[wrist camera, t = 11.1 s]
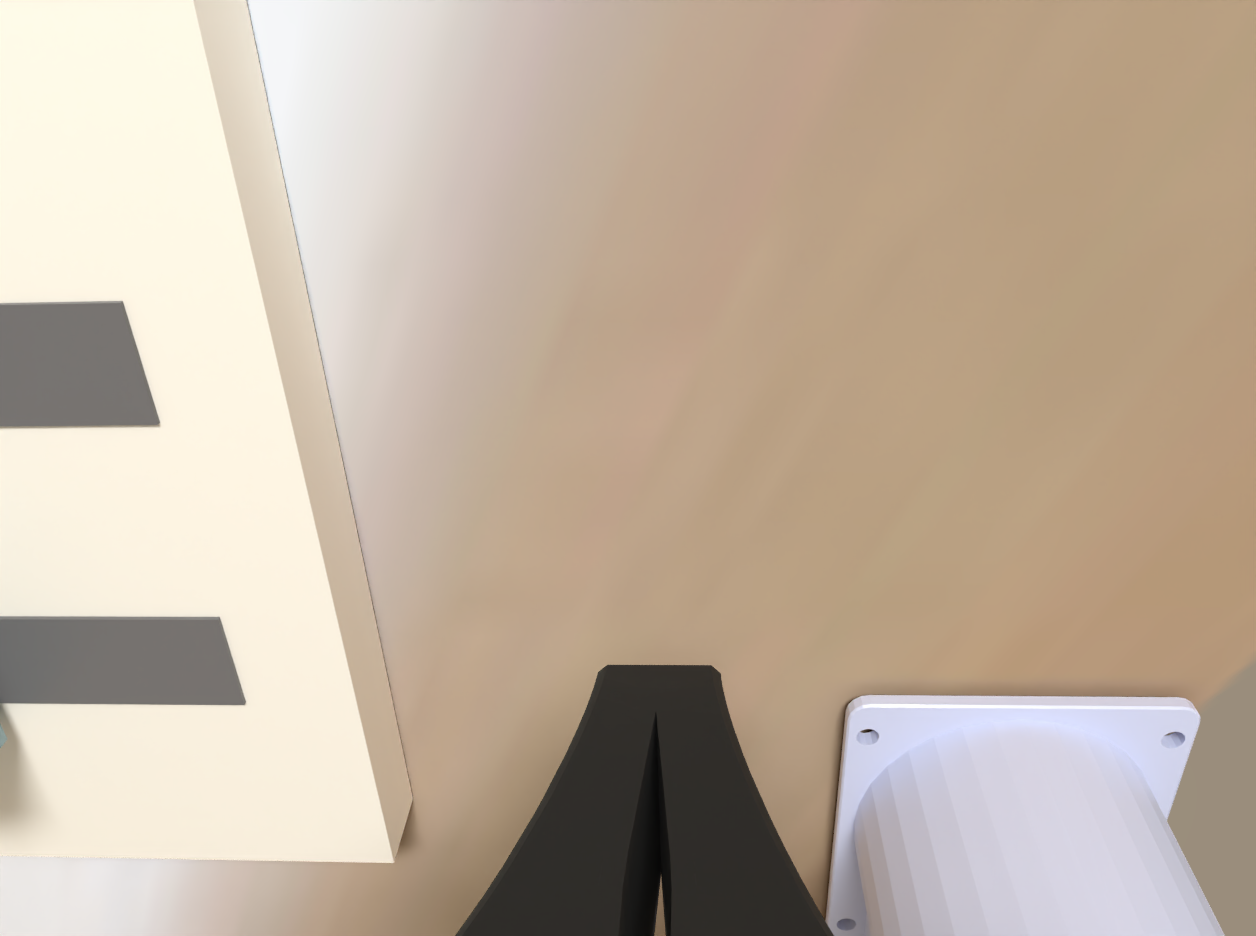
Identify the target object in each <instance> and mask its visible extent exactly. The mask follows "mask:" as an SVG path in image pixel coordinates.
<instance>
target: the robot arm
mask: <svg viewBox="0 0 1256 936" xmlns="http://www.w3.org/2000/svg"><path fill="white" fill-rule="evenodd" d="M1199 724H1200V715H1199V714H1198V712H1197V710H1196V709H1195V707H1194V705H1193V704H1192V702H1190V701H1189V700H1187V699H1185V698H1178V697H1064V696H922V695H866V696H860V697H858V698H856V699H854V700H852V701H851V702H850V703H849V704H848V706H847V709H846V714H845V725H844V735H843V745H842V756H841V766H840V776H839V787H838V797H837V807H836V818H835V828H834V838H833V849H832V859H831V869H830V880H829V890H828V900H827V911H826V921H825V920H824V918H823V916H822V915H821V913H820V911H819V910H818V908H817V906H816V904H815V903H814V901H813V899H812V897H811V896H810V894H809V892H808V890H807V888H806V887H805V885H804V883H803V881H802V879H801V877H800V876H799V874H798V872H797V870H796V868H795V866H794V864H793V862H792V860H791V858H790V857H789V855H788V853H787V851H786V849H785V847H784V845H783V843H782V841H781V839H780V837H779V835H778V833H777V831H776V829H775V827H774V825H773V823H772V820H771V818H770V816H769V814H768V812H767V809H766V807H765V805H764V803H763V800H762V798H761V796H760V794H759V791H758V789H757V787H756V785H755V782H754V780H753V778H752V776H751V773H750V771H749V768H748V766H747V763H746V761H745V758H744V756H743V753H742V750H741V747H740V745H739V742H738V739H737V736H736V733H735V731H734V728H733V724H732V721H731V718H730V715H729V711H728V708H727V704H726V700H725V696H724V692H723V687H722V681H721V673H719V672H718V671H717V670H716V669H715V668H714V667H712V666H711V665H607V666H606V667H604V668H603V669H602V670H601V671H599V672H598V675H597V678H596V682H595V685H594V688H593V691H592V694H591V697H590V700H589V702H588V705H587V708H586V710H585V713H584V715H583V717H582V720H581V722H580V724H579V727H578V729H577V731H576V733H575V736H574V738H573V740H572V742H571V744H570V746H569V749H568V751H567V753H566V755H565V757H564V759H563V761H562V763H561V765H560V767H559V769H558V770H557V772H556V774H555V776H554V778H553V780H552V782H551V784H550V786H549V788H548V790H547V792H546V794H545V796H544V797H543V799H542V801H541V803H540V805H539V807H538V808H537V810H536V812H535V814H534V816H533V817H532V819H531V821H530V822H529V824H528V825H527V827H526V829H525V830H524V832H523V834H522V835H521V837H520V839H519V840H518V842H517V844H516V845H515V847H514V849H513V850H512V852H511V854H510V855H509V857H508V859H507V860H506V862H505V864H504V865H503V867H502V869H501V870H500V872H499V873H498V875H497V876H496V878H495V879H494V881H493V882H492V884H491V885H490V887H489V888H488V890H487V891H486V893H485V894H484V896H483V897H482V899H481V900H480V902H479V903H478V905H477V906H476V907H475V909H474V910H473V912H472V913H471V915H470V916H469V917H468V919H467V920H466V922H465V923H464V924H463V926H462V927H461V928H460V930H459V931H458V933H457V934H456V935H455V936H654V932H655V923H656V914H657V905H658V896H659V887H660V878H661V876H662V890H663V904H664V917H665V931H666V936H1225V935H1224V933H1223V931H1222V929H1221V927H1220V925H1219V923H1218V922H1217V919H1216V917H1215V915H1214V913H1213V911H1212V909H1211V908H1210V906H1209V904H1208V902H1207V900H1206V898H1205V896H1204V894H1203V892H1202V890H1201V888H1200V886H1199V884H1198V882H1197V880H1196V878H1195V876H1194V874H1193V872H1192V870H1191V868H1190V866H1189V864H1188V862H1187V860H1186V858H1185V856H1184V854H1183V852H1182V850H1181V848H1180V846H1179V844H1178V842H1177V840H1176V838H1175V836H1174V834H1173V833H1172V831H1171V829H1170V827H1169V825H1168V823H1167V819H1168V816H1169V812H1170V809H1171V807H1172V804H1173V801H1174V798H1175V795H1176V792H1177V789H1178V786H1179V783H1180V780H1181V777H1182V774H1183V771H1184V768H1185V766H1186V763H1187V760H1188V756H1189V754H1190V751H1191V748H1192V745H1193V742H1194V739H1195V736H1196V733H1197V730H1198V727H1199ZM865 729H872V731H871V732H867V733H861V732H860V731H862V730H865ZM1171 732H1174V733H1172V734H1170V735H1166V734H1168V733H1171ZM1165 735H1166V736H1165Z"/></svg>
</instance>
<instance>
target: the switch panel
mask: <svg viewBox="0 0 1256 936" xmlns="http://www.w3.org/2000/svg"><path fill="white" fill-rule="evenodd" d="M0 724H1V726H2V728H3V730H4V733H5V735H6V737H7V741H6V742H5V743H4V744H3V746H2V747H1V748H0V856H34V857H90V858H147V859H203V860H259V861H315V862H371V863H394V861H395V858H396V855H397V851H398V848H399V844H400V841H401V838H402V834H403V831H404V828H405V824H406V821H407V817H408V814H409V811H410V807H411V804H412V801H413V797H412V792H411V787H410V782H409V777H408V773H407V768H406V763H405V758H404V753H403V749H402V744H401V739H400V734H399V729H398V725H397V720H396V715H395V710H394V705H393V701H392V696H391V691H390V686H389V681H388V677H387V672H386V667H385V662H384V658H383V653H382V648H381V643H380V638H379V634H378V629H377V624H376V619H375V614H374V610H373V605H372V600H371V595H370V590H369V586H368V581H367V576H366V571H365V566H364V562H363V557H362V552H361V547H360V542H359V538H358V533H357V528H356V523H355V518H354V514H353V509H352V504H351V499H350V494H349V490H348V485H347V480H346V475H345V471H344V466H343V461H342V456H341V451H340V447H339V442H338V437H337V432H336V427H335V423H334V418H333V413H332V408H331V403H330V399H329V394H328V389H327V384H326V379H325V375H324V370H323V365H322V360H321V355H320V351H319V346H318V341H317V336H316V331H315V327H314V322H313V317H312V312H311V307H310V303H309V298H308V293H307V288H306V284H305V279H304V274H303V269H302V264H301V260H300V255H299V250H298V245H297V240H296V236H295V231H294V226H293V221H292V216H291V212H290V207H289V202H288V197H287V192H286V188H285V183H284V178H283V173H282V168H281V164H280V159H279V154H278V149H277V144H276V140H275V135H274V130H273V125H272V120H271V116H270V111H269V106H268V101H267V97H266V92H265V87H264V82H263V77H262V73H261V68H260V63H259V58H258V53H257V49H256V44H255V39H254V34H253V29H252V25H251V20H250V15H249V10H248V5H247V1H246V0H0Z"/></svg>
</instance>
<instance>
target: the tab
mask: <svg viewBox="0 0 1256 936" xmlns="http://www.w3.org/2000/svg"><path fill="white" fill-rule="evenodd" d="M6 741H7V737H6V735H5V733H4V730H3V728H2V726H1V724H0V748H1V747H2V746H3V744H4V743H5V742H6Z"/></svg>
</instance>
